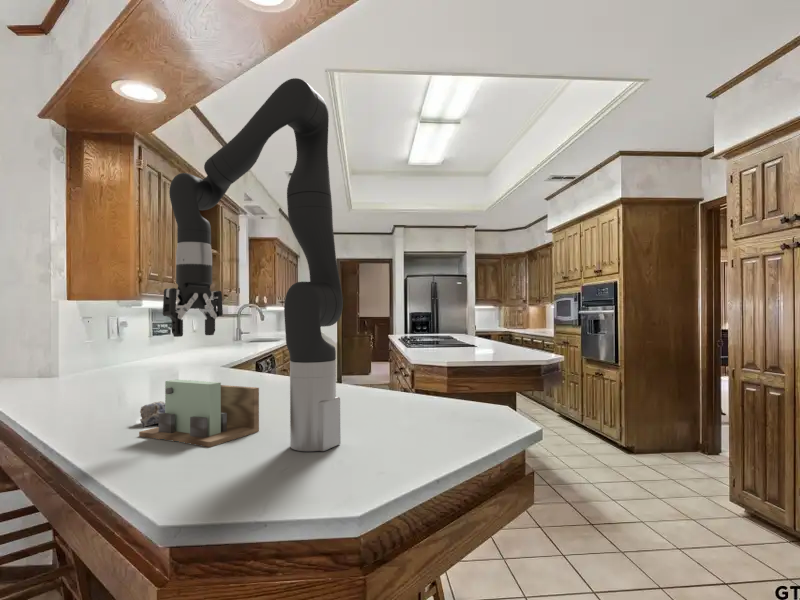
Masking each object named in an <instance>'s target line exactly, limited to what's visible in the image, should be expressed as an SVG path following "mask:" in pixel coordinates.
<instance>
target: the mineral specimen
mask: <svg viewBox="0 0 800 600" xmlns="http://www.w3.org/2000/svg"><path fill="white" fill-rule="evenodd" d="M139 413H140V417H141V418H140V419H139V420H140V423H141V425H142V426H144V427H147V426H153V425H156V424H159V413H165V401H154V402H152V403H149V404H144V405H143V406H141V407H140V411H139Z"/></svg>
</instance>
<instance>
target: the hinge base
mask: <svg viewBox="0 0 800 600" xmlns="http://www.w3.org/2000/svg"><path fill="white" fill-rule="evenodd" d="M258 432H260V387H256V386H253V387H251V386H241V385H226V384H221V433H218V434H215V435H212V436H207V418H204V417H196V416H193V417H190V433H184V432H176V431H175V414H169V413H159V423H158V426H157V427H154V428H149V429H145V430H141V431H138V437H141V438H142V437H143V438H147V439H154V438H156V439H155V440H160V439H165V440H164V441H167V440H173V441H172V442H174V441H179V442H178V443H180V442H185V443H184V444H187V443H191V444H190V445H194V444H196V445H195V446H200V445H202V447H207V448H212V447H215V446H218V445H221V444H224V443H228V442H229V441H233V440H237V439H240V438H243V437H246V436H249V435H252V434H256V433H258Z"/></svg>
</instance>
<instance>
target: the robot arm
mask: <svg viewBox="0 0 800 600" xmlns="http://www.w3.org/2000/svg"><path fill="white" fill-rule="evenodd" d="M329 117H330V116H329V108H328V105H327V103H326V101H325V99H324V97H322V96H321V95H320V94H319V93H318V92H317V91H316V90H315V89H314V88H313V87H312V86H311V85H310V84H309V83H308V82H307V81H305V80H303V78H302V79H301V78H296V77H294V78H293V77H292V78H289V79H287V80H286V81H284V82H282V83H281V84H280V85H278V87H277V88H276V89H275V90H274V91H273V92H272V93H271V94H270V96H268V97H267V99H266V100H265V102H264V103H263V104H262V105H260V108H259V109H257V111H256V112H255V113H254V114H253V115H252V116H251V117H250V119H249V120H248V122H247V123H246V124H245V125H244V126H243V127H242V129H240V131H239V132H238V133H237V134H236V135H235V136H234V137H232V139H230V140H229V141H228V142H227V143H226V144H225V145H223V146H221V148H220V149H219V150H217V151H216V152H215V153H213V154H212V155H211V156H210V157H209V158H208V159H207V160H206V161H205V162H204V164H203V165H204V167H203V168H204V172H205V174H206V175H207V176H206V177H204V178H201V177H199V176H196V175H194V174H191V173H187V172H180V173H178V174H177V175H175V176H174V177H173V179H172V180H171V182H170V185H169V191H168V192H169V194H168V195H169V200H170V203H171V207H172V208H171V209H172V211H173V216H174V219H175V222H176V226H177V229H176V230H177V231H176V232H177V235H176V237H177V239H176V240H177V243H176V244H177V246H176V251H175V252H176V253H175V283H176V285H177V288H175V287H172V288H169V287H168V288H165V289H164V290H163V300H162V301H163V303H162V316H163V317H167V318H169V319H170V320H171V334H172V335H173V337H179V338H180V337H183V335H184V319H182V318H183V317H184V316H185V314H186V312H188V311H189V310H191V309H194V310H199V311H200V313H202V314H203V316H204V318H205V319H204V335H205V336H214V335H215V332H216V319H217V318H218V317H222V316H223V314H224V313H223V292H222V291H221V290H213V291H212V290H211V286H212V284H213V252H212V251H213V250H212V229H211V228H212V226H211V223H210V221H209V220H207V219H206V218H205V217H204V216H202V214H201V212H200V211H207V210H210V209H212V208H214V207H215V206H217V204H219V202H220V201H221V200H222V198H223V197H224V196H225V195H226V193H227V191H228V190H229V189H230V186H231V185H233V184H234V183H235V182H236V181H238V180H239V179H240V178H241V177H243V176H244V175H246V173H247V172H249V171H250V170H251V169H252V168H253V167H254V165H255V164H256V163H257V161H258V159H259V157H260V156H261V153H262V151H263V149H264V147H265V145H266V143H267V142H268V140H269V139H270V138H271V137H272V136H273V135H274V134H275V133H276V132H278V131H279V130H281V129H282V128H284V127H285V126H288V127H290V128H291V129H292V130H293V133H294V137H295V146H296V148H295V149H296V159H295V160H296V161H295V165H294V168H293V170H292V173H291V175H290V176H289V177H290V178H289V180H288V183H287V188H286V203H287V218H288V223H289V225H290V228H291V231H292V232H293V234H294V237H295V239H296V240H297V242H298V245H299V246H300V248H301V249H302V252H303V254H304V256H305V259H306V262H307V265H308V271H309V281H297V282H295V283H293V284H292V285H291V286H290V287H289V288H288V290H287V292H286V293H285V298H284V305H283V308H284V309H283V310H284V312H283V314H284V330H285V343H286V348H287V350H288V353H289V415H290V416H289V428H290V433H289V434H290V435H289V438H290V443H289V445H290V448H291V449H292V450H294V451H298V452H326V451H327V450H330V449H331V448H335V447H337V446H339V445H340V444H342V443H341V442H342V441H341V439H342V437H341V435H342V434H341V398H340V397H339V396H337V378H336V377H337V374H336V373H337V372H336V371H337V369H336V368H337V364H336V362H337V360H336V359H337V351H336V347H335V346H334V345H333V344H330V343H329V342H328V341H326V340H325V339H324V338H323V336H322V335H323V334H322V330H321V327H322V328H323V327H324V328H325V327H330V326H333V325H335V324H337V322H338V321H339V320H340V318H341V316H342V313H343V306H344V300H343V291H342V286H341V285H342V284H341V279H340V274H339V268H338V262H337V257H336V256H337V255H336V244H335V232H334V225H333V223H334V222H333V221H334V220H333V201H332V192H331V181H330V180H331V179H330V178H331V177H330V167H329V165H330V164H329V154H328V153H329V152H328V151H329V149H328V147H329V120H330V119H329ZM177 298H178V300H177Z"/></svg>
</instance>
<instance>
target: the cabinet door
mask: <svg viewBox="0 0 800 600" xmlns="http://www.w3.org/2000/svg"><path fill="white" fill-rule="evenodd" d="M221 385H222V382H220V381H219V382H218V381H207V380H206V381H205V380H191V379H190V380H189V379H188V380H187V379H172V380H165V382H164V387H165V388H164V389H165V390H164V394H165V395H164V403H165V413H169V414H175V431H176V432H184V433H190V417H193V416H196V417H204V418H207V436H212V435H215V434H218V433H221Z"/></svg>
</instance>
